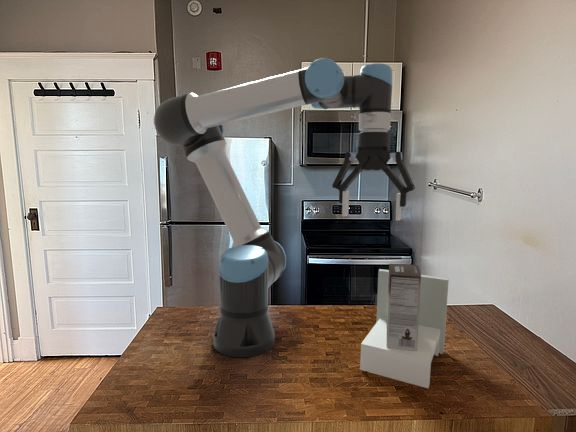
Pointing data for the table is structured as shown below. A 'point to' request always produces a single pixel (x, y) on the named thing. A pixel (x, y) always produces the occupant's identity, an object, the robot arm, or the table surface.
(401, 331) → the coffee box
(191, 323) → the table surface
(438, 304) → the white toy chair
